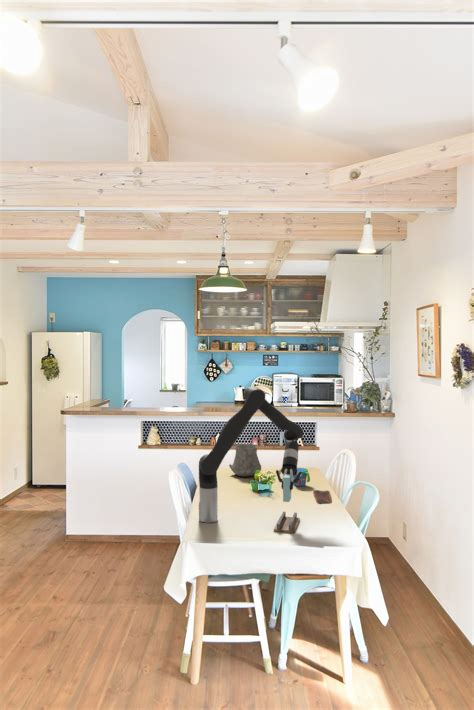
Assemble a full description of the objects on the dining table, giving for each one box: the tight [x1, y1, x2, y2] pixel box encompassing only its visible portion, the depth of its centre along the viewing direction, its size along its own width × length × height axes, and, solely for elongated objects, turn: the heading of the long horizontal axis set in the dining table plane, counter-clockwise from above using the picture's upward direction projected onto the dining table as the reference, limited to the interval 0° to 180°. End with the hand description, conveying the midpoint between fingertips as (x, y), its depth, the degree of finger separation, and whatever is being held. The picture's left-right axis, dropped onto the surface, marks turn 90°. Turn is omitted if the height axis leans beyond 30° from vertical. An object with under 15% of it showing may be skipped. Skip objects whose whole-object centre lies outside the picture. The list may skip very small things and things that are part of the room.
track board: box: [273, 511, 301, 534], centre depth 269 cm, size 10×20×4 cm, turn 166°
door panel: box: [282, 474, 292, 503], centre depth 268 cm, size 3×7×12 cm, turn 166°
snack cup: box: [293, 467, 311, 487], centre depth 344 cm, size 16×10×10 cm
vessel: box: [228, 444, 262, 478], centre depth 371 cm, size 22×22×20 cm
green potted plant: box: [249, 470, 263, 492], centre depth 335 cm, size 11×9×11 cm
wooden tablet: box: [312, 489, 333, 505], centre depth 318 cm, size 26×2×10 cm
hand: (286, 489), depth 267 cm, fingers closed on door panel, 3 cm apart
